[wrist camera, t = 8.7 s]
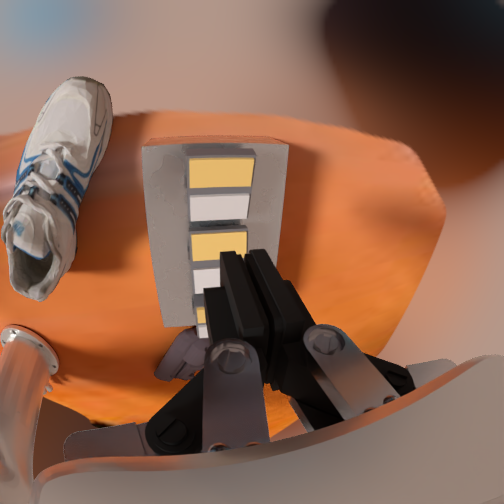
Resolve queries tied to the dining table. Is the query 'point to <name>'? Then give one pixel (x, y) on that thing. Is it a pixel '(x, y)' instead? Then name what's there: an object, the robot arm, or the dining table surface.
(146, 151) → the switch unit
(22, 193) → the athletic shoe
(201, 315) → the switch
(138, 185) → the dining table surface
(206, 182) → the switch
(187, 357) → the toy gun
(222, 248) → the switch
